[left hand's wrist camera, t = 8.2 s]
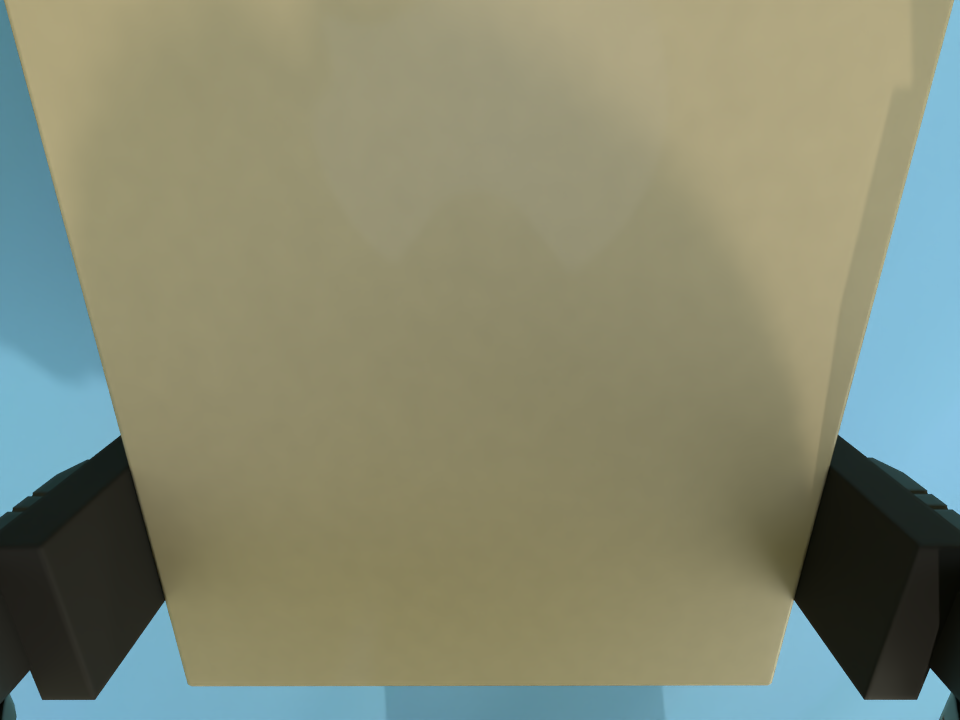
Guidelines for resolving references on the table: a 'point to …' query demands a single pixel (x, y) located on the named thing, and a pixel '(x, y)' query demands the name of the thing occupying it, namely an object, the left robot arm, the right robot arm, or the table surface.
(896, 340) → the table surface
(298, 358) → the tan cardboard carton
